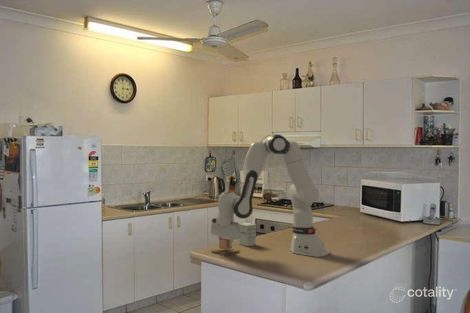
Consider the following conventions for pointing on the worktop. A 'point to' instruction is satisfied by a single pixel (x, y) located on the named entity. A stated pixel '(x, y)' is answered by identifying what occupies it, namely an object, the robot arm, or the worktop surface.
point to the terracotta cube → (224, 243)
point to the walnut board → (225, 251)
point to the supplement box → (248, 234)
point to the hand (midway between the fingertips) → (225, 245)
